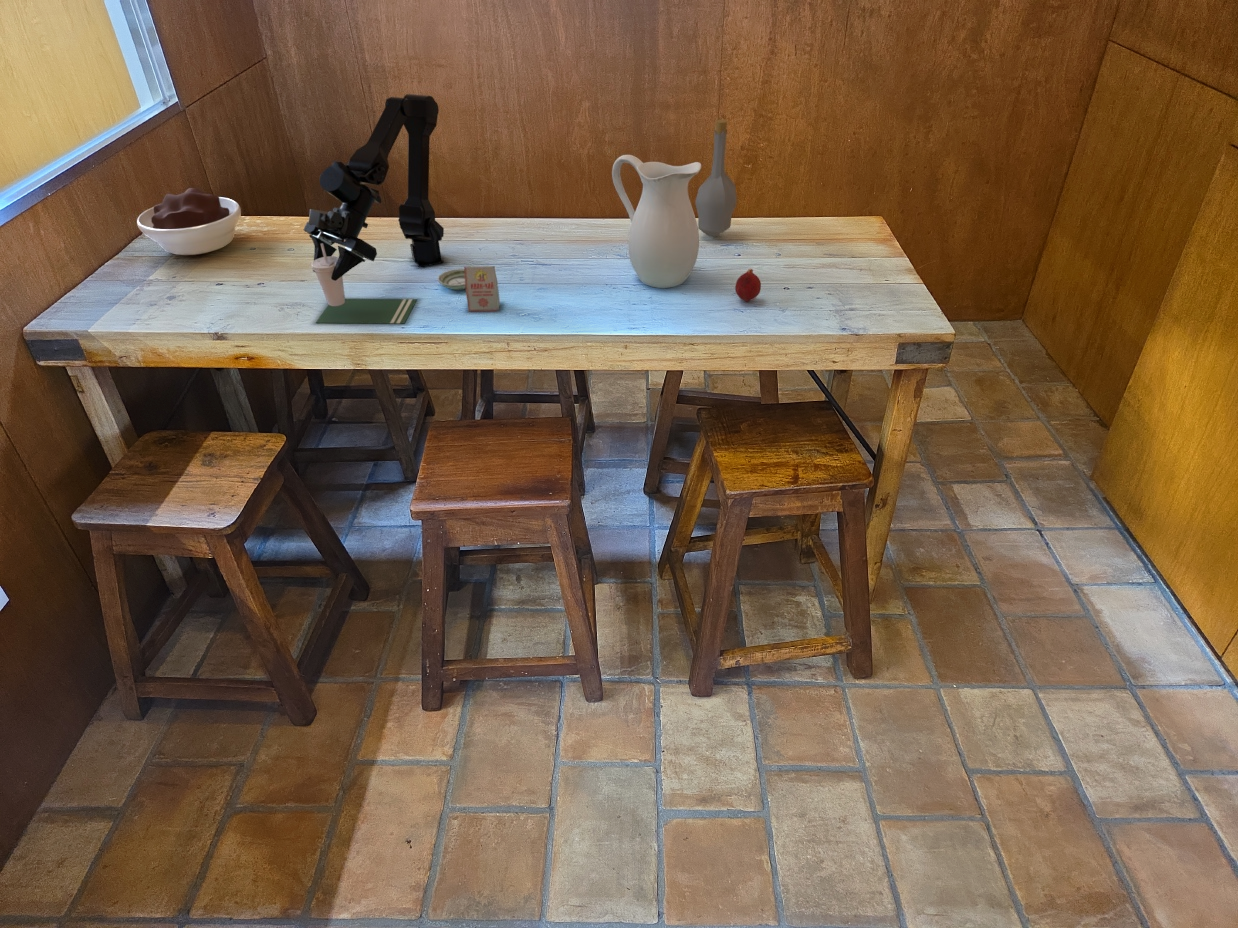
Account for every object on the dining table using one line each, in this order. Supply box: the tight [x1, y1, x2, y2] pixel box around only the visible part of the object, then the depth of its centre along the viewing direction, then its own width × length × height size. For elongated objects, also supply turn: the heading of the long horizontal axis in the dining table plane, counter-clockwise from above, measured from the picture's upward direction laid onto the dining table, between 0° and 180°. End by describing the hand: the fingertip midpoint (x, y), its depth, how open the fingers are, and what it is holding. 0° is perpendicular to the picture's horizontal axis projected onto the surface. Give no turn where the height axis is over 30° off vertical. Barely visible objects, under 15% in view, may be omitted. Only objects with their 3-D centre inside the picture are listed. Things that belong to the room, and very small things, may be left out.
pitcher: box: [611, 154, 702, 289], centre depth 186 cm, size 24×17×28 cm
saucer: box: [437, 268, 466, 291], centre depth 190 cm, size 10×10×2 cm
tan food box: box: [463, 265, 501, 312], centre depth 178 cm, size 4×7×10 cm, turn 91°
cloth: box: [315, 298, 418, 325], centre depth 180 cm, size 20×12×1 cm, turn 88°
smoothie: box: [310, 243, 346, 306], centre depth 173 cm, size 6×6×14 cm
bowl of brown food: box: [136, 187, 242, 256], centre depth 206 cm, size 25×25×15 cm
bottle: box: [694, 119, 738, 238], centre depth 204 cm, size 11×11×30 cm
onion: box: [734, 268, 762, 303], centre depth 180 cm, size 6×6×8 cm
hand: (323, 276), depth 172 cm, fingers closed on smoothie, 6 cm apart
